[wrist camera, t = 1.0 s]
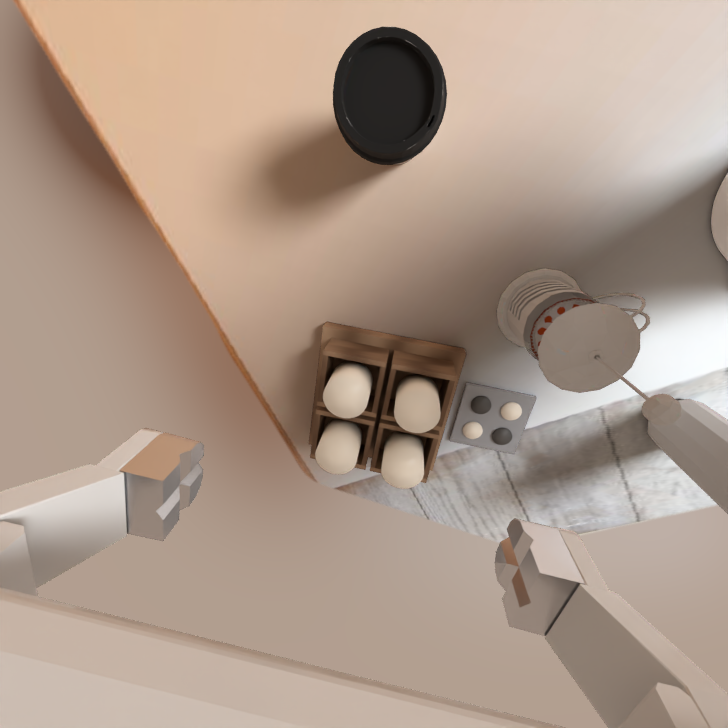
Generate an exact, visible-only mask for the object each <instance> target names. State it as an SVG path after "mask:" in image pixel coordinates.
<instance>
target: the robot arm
mask: <svg viewBox="0 0 728 728" xmlns="http://www.w3.org/2000/svg"><path fill="white" fill-rule="evenodd" d="M711 228H712V234H713V238H714V241H715V243H716V245H717V247H718V249H719V251H720V252H721V253H722V255H723V256H724V257H725V258H726V260H727V261H728V173H727V175H726V176H725V178H724V180H723V182H722V183H721V185H720V187H719V190H718V192H717V195H716V197H715V201H714V204H713V209H712V216H711ZM203 456H204V445H203V444H202V443H201V442H199V441H195V440H191V439H187V438H184V437H180V436H176V435H172V434H169V433H163V432H160V431H155V430H152V429H148V428H144V429H141V430H139V431H138V432H136V433H135V434H134V435H133V436H131V437H130V438H129V439H128V440H126V441H125V442H124V443H123V444H122V445H120V446H119V447H118V448H117V449H115V450H114V451H113V452H112V453H111V454H109V455H108V456H107V457H105V458H104V459H103V460H102V461H101V462H99V463H98V464H97V465H96V466H95V465H90V464H88V465H85V466H82V467H79V468H75V469H72V470H69V471H66V472H62V473H59V474H56V475H53V476H50V477H46V478H43V479H40V480H37V481H33V482H30V483H27V484H24V485H20V486H17V487H14V488H11V489H8V490H4V491H1V492H0V728H565V727H561V726H557V725H553V724H549V723H545V722H541V721H537V720H533V719H529V718H525V717H520V716H517V715H513V714H509V713H505V712H500V711H497V710H492V709H488V708H484V707H480V706H476V705H472V704H468V703H464V702H460V701H456V700H452V699H448V698H444V697H440V696H436V695H432V694H427V693H424V692H419V691H416V690H412V689H407V688H404V687H399V686H395V685H391V684H387V683H383V682H379V681H375V680H371V679H367V678H363V677H359V676H355V675H351V674H347V673H343V672H339V671H335V670H331V669H327V668H323V667H319V666H315V665H311V664H306V663H303V662H299V661H295V660H291V659H287V658H283V657H279V656H275V655H271V654H267V653H263V652H259V651H255V650H251V649H247V648H243V647H239V646H235V645H231V644H227V643H223V642H219V641H215V640H211V639H207V638H203V637H199V636H195V635H191V634H187V633H183V632H179V631H175V630H171V629H167V628H163V627H158V626H155V625H151V624H147V623H143V622H139V621H135V620H131V619H127V618H123V617H119V616H114V615H111V614H107V613H103V612H99V611H95V610H90V609H87V608H83V607H79V606H74V605H70V604H66V603H62V602H58V601H54V600H50V599H46V598H42V597H38V593H37V588H38V587H39V586H41V585H43V584H45V583H46V582H48V581H50V580H52V579H53V578H55V577H57V576H58V575H60V574H62V573H64V572H65V571H67V570H69V569H71V568H72V567H74V566H76V565H77V564H79V563H81V562H83V561H84V560H86V559H88V558H90V557H91V556H93V555H95V554H96V553H98V552H100V551H102V550H103V549H105V548H107V547H109V546H110V545H112V544H114V543H115V542H117V541H119V540H121V539H122V538H124V537H126V536H127V534H131V535H136V536H141V537H145V538H150V539H155V540H160V541H164V539H165V538H166V537H167V535H168V534H169V533H170V531H171V530H172V529H173V527H174V526H175V524H176V523H177V522H178V520H179V511H180V510H182V509H184V508H186V507H188V506H189V505H190V504H191V503H192V501H193V500H194V498H195V497H196V495H197V493H198V490H199V488H200V486H201V481H202V477H203V469H202V467H201V466H200V464H199V463H198V462H199V461H200V460H201V458H202V457H203ZM507 531H508V534H509V537H508V538H507V539H505V540H503V541H501V542H500V544H499V547H498V549H497V552H496V558H495V572H496V576H497V581H498V582H499V583H500V585H501V586H502V587H503V588H504V590H505V591H506V592H505V594H504V596H503V598H502V600H503V604H504V608H505V612H506V616H507V620H508V624H509V626H510V627H514V628H517V629H521V630H524V631H528V632H531V633H535V634H539V635H542V636H546V637H545V639H546V640H547V642H548V643H549V644H550V646H551V648H552V649H553V651H554V652H555V653H556V655H557V656H558V657H559V659H560V660H561V662H562V663H563V664H564V666H565V667H566V669H567V670H568V672H569V673H570V675H571V676H572V677H573V679H574V680H575V681H576V683H577V684H578V686H579V687H580V689H581V690H582V691H583V693H584V694H585V696H586V697H587V699H588V700H589V701H590V703H591V704H592V705H593V707H594V708H595V710H596V711H597V713H598V714H599V715H600V717H601V718H602V720H603V721H604V723H605V724H606V725H607V727H608V728H728V693H726V692H725V691H724V690H723V689H722V688H721V687H720V686H719V685H718V684H716V683H715V682H714V681H713V680H712V679H711V678H710V677H709V676H708V675H707V674H705V673H704V672H703V671H702V670H701V669H700V668H699V667H698V666H697V665H695V664H694V663H693V662H692V661H691V660H690V659H689V658H688V657H687V656H686V655H684V654H683V653H682V652H681V651H680V650H679V649H678V648H677V647H676V646H675V645H673V644H672V643H671V642H670V641H669V640H668V639H667V638H665V637H664V636H663V635H662V634H661V633H660V632H659V631H658V630H657V629H656V628H655V627H653V626H652V625H651V624H650V623H649V622H648V621H647V620H646V619H644V618H643V617H642V616H641V615H640V614H639V613H638V612H637V611H636V610H635V609H634V608H632V607H631V606H630V605H629V604H628V603H627V602H626V601H625V600H623V598H621V597H620V596H619V595H618V594H617V593H616V592H611V591H609V589H608V588H607V586H606V584H605V582H604V580H603V578H602V577H601V575H600V573H599V571H598V569H597V567H596V566H595V564H594V562H593V560H592V558H591V557H590V555H589V553H588V551H587V549H586V547H585V545H584V544H583V542H582V540H581V538H580V536H579V535H578V534H577V533H576V532H574V531H571V530H566V529H561V528H557V527H550V526H546V525H542V524H538V523H533V522H529V521H525V520H521V519H516V518H514V519H513V520H512V521H511V522H510V524H509V526H508V528H507Z"/></svg>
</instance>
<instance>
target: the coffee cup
mask: <svg viewBox="0 0 728 728" xmlns="http://www.w3.org/2000/svg"><path fill="white" fill-rule="evenodd" d="M446 98H447V90H446V80H445V76H444V72H443V69H442V66H441V64H440V62H439V60H438V58H437V56H436V54H435V53H434V52H433V50H432V49H431V48H430V46H429V45H428V44H427V43H425V42H424V41H423V40H422V39H421V38H420V37H418V36H417V35H416V34H414V33H412V32H410V31H408V30H405V29H401V28H397V27H380V28H376V29H372V30H370V31H368V32H366V33H364V34H362V35H361V36H359V37H358V38H357V39H356V40H354V41H353V42H352V43H351V45H350V46H349V47H348V48H347V49H346V51H345V52H344V54H343V56H342V58H341V60H340V61H339V64H338V67H337V70H336V73H335V80H334V89H333V107H334V113H335V118H336V121H337V124H338V126H339V129H340V131H341V133H342V135H343V137H344V139H345V141H346V142H347V144H348V145H349V146H350V147H351V148H352V150H353V151H354V152H356V153H357V154H358V155H359V156H361V157H362V158H364V159H366V160H368V161H370V162H373V163H377V164H381V165H393V164H403V163H405V162H408V161H409V160H411V159H412V158H413V157H415V156H416V155H417V154H419V153H420V152H422V150H423V149H424V148H425V147H426V146H427V145H428V144H429V143H430V142H431V140H432V139H433V137H434V136H435V135H436V133H437V131H438V129H439V126H440V124H441V122H442V119H443V116H444V112H445V108H446Z"/></svg>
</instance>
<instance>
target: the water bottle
mask: <svg viewBox="0 0 728 728" xmlns="http://www.w3.org/2000/svg"><path fill="white" fill-rule="evenodd" d="M677 401H678V402H679V403H680V404H681V417H680V418H679V419H678V420H677V421H676V422H674V423H672V424H669V425H667V426H663V425H655V424H653V423H652V422H651V421H649V420H648V435H649V436H650V437H651V439H652V440H653V441H654V442H655V444H656V445H657V446H658V447H659V448H660V449H662V450H663V451H664V452H665V453H666V454H667V455H668V456H669V457H670V458H671V459H672V460H673V461H674V462H675V463H676V464H677V465H678V466H679V467H680V468H681V469H682V470H683V471H684V472H685V473H686V474H687V475H688V476H689V477H690V478H691V479H692V480H693V481H694V482H695V483H696V484H697V485H698V486H699V487H700V488H701V489H703V490H704V491H705V492H706V493H707V494H708V495H709V496H710V497H711V498H712V499H713V500H714V501H715V502H716V503H717V504H718V505H719V506H720V507H721V508H722V509H723V510H724V511H725V512H726V513H727V514H728V420H727V419H726V418H724V417H723V416H721V415H720V414H718V413H717V412H715V411H714V410H712V409H711V408H709V407H708V406H706V405H705V404H703V403H700V402H697V401H694V400H691V399H684V400H677Z"/></svg>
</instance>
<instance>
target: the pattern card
mask: <svg viewBox="0 0 728 728" xmlns="http://www.w3.org/2000/svg"><path fill="white" fill-rule="evenodd" d="M535 401H536V396H533V395H528V394H523V393H518V392H513V391H508V390H503V389H498V388H493V387H488V386H483V385H478V384H473V383H468V382H466V386H465V389H464V392H463V396H462V399H461V402H460V405H459V409H458V412H457V415H456V419H455V422H454V425H453V429H452V432H451V435H450V441H452V442H457V443H462V444H467V445H471V446H476V447H481V448H486V449H490V450H495V451H500V452H505V453H510V454H515V451H516V449H517V446H518V444H519V441H520V439H521V436H522V434H523V431H524V429H525V426H526V424H527V421H528V418H529V416H530V413H531V411H532V408H533V406H534V403H535Z"/></svg>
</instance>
